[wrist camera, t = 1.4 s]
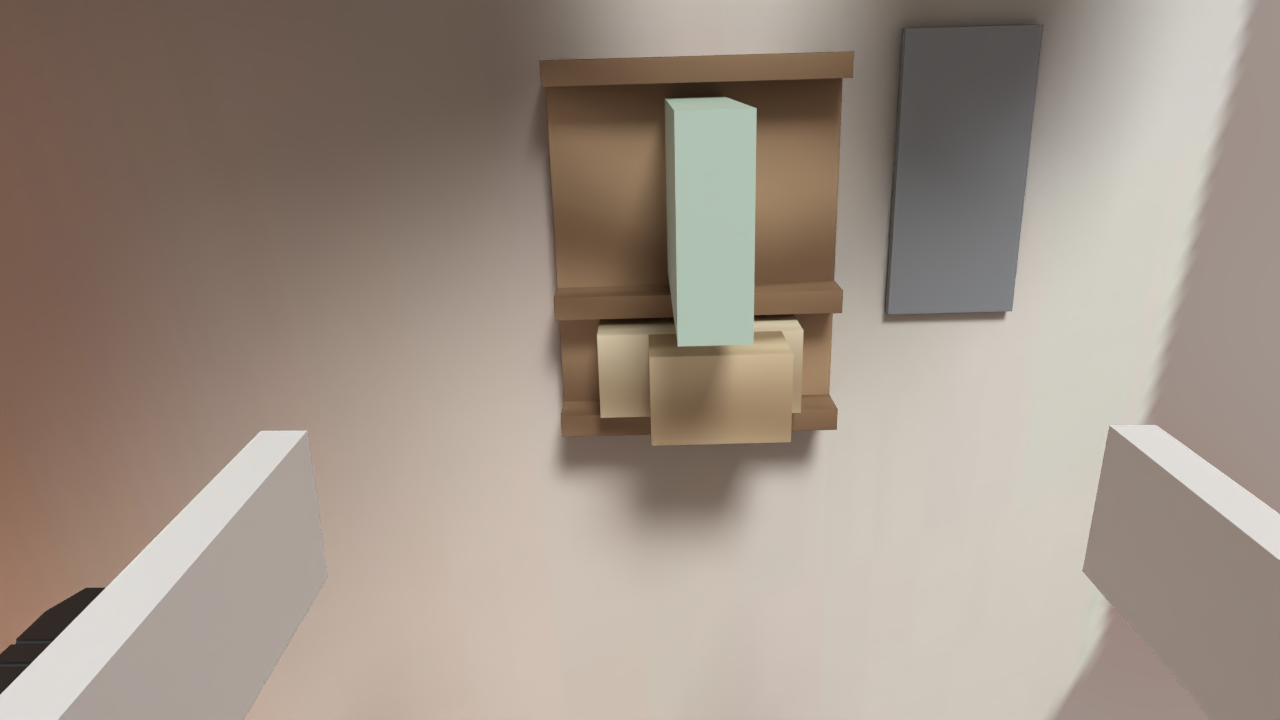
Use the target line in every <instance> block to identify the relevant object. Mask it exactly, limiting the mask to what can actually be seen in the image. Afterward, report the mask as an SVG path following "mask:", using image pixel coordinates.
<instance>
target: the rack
mask: <svg viewBox="0 0 1280 720" xmlns="http://www.w3.org/2000/svg"><path fill="white" fill-rule="evenodd" d="M853 60H854V51H850V52H815V53H781V54H747V55H713V56H678V57H644V58H610V59H576V60H542V61H539V62H540V78H541V87H546V99H547V116H548V133H549V150H550V167H551V184H552V202H553V219H554V236H555V253H556V270H557V287H558V288H557V291H556V293H555V296H554V311H555V320H559V321H560V338H561V356H562V373H563V390H564V404H563V409H562V413H561V428H562V437H565V436H604V435H644V434H651V417H615V418H601V413H600V391H599V369H598V347H597V333H598V327H599V320H600V319H628V318H666V317H674V315H673V308H672V300H671V293H670V285H669V278H668V261H667V206H666V151H665V98H676V97H711V96H725V97H727V98H730V99H733V100H735V101H738V102H741V103H744V104H746V105H749V106H752V107H755V108H757V124H756V199H755V274H754V315H779V314H794V316H795V317H796V319H797V321H798V322H799V324H800V325H801V327H802V329H803V330H804V332H803V364H802V395H801V413H792V424H791V431H801V430H837V410H838V409H837V407H836V406H835V404H834V402H833V400H832V399H831V397H830V395H829V386H830V362H831V339H832V315H833V313H842V301H843V290H842V289H841V288H840V287H839V285H838V284H837V283H836V282H835V281H834V268H835V244H836V220H837V197H838V173H839V149H840V126H841V102H842V78H853Z"/></svg>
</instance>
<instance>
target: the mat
mask: <svg viewBox="0 0 1280 720" xmlns="http://www.w3.org/2000/svg"><path fill="white" fill-rule="evenodd" d="M1042 28H1043V24H1040V25H1006V26H972V27H938V28H906V29H903V32H902V48H901V64H900V80H899V97H898V113H897V129H896V145H895V161H894V178H893V194H892V210H891V226H890V243H889V259H888V275H887V291H886V308H885V312H886V313H887V314H925V313H962V312H1000V311H1012V305H1013V296H1014V287H1015V277H1016V268H1017V259H1018V250H1019V240H1020V231H1021V222H1022V213H1023V203H1024V194H1025V185H1026V176H1027V167H1028V157H1029V148H1030V139H1031V130H1032V120H1033V111H1034V102H1035V93H1036V83H1037V74H1038V65H1039V56H1040V46H1041V37H1042Z"/></svg>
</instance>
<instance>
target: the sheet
mask: <svg viewBox="0 0 1280 720" xmlns="http://www.w3.org/2000/svg"><path fill="white" fill-rule="evenodd" d="M756 124H757V108H755V107H752V106H749V105H746V104H744V103H741V102H738V101H735V100H733V99H730V98H727V97H725V96H711V97H676V98H665V151H666V206H667V261H668V278H669V285H670V293H671V300H672V308H673V315H674V323H675V330H676V338H677V345H678V347H680V346H718V345H754V274H755V199H756Z"/></svg>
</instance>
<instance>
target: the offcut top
mask: <svg viewBox="0 0 1280 720" xmlns="http://www.w3.org/2000/svg"><path fill="white" fill-rule="evenodd" d="M649 371H650V409H651V444H652V446H658V445H698V444H738V443H777V442H791V424H792V389H793V352H792V350H791V348H790V346H789V344H788V342H787V341H786V339H785V337H784V335H783V333H782V331H761V332H754V345H718V346H680V347H678V345H677V338H676V334H649Z"/></svg>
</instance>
